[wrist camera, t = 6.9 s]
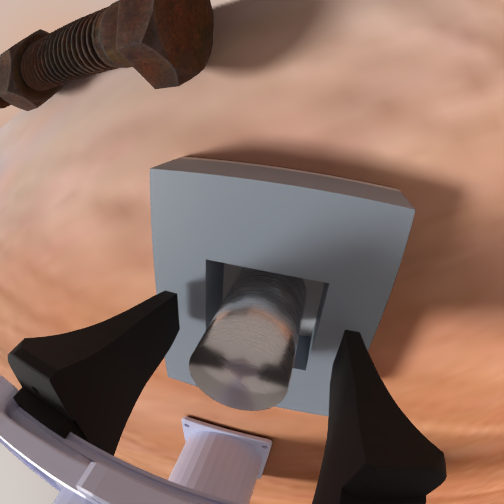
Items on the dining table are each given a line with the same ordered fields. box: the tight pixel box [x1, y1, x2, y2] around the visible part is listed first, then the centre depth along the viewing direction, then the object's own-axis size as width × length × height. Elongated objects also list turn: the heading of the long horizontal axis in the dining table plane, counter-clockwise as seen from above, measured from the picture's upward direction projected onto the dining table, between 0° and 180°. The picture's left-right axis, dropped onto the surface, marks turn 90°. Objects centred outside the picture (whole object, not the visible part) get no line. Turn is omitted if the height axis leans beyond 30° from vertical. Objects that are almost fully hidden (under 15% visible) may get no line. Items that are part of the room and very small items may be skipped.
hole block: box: [150, 157, 415, 416], centre depth 14 cm, size 12×10×3 cm
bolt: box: [0, 0, 213, 111], centre depth 11 cm, size 6×5×15 cm
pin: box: [189, 267, 307, 411], centre depth 13 cm, size 4×4×6 cm
